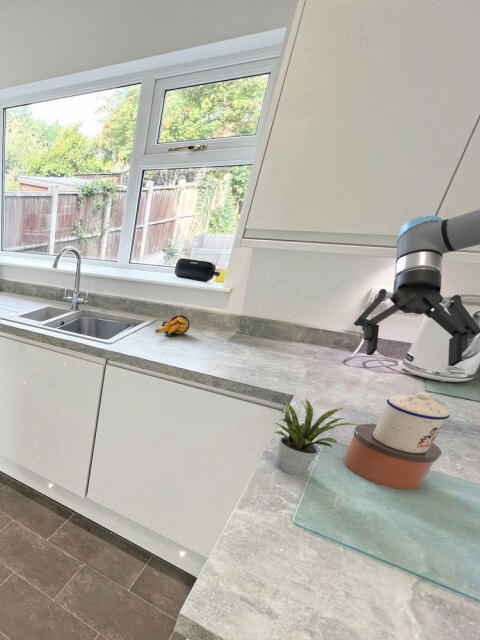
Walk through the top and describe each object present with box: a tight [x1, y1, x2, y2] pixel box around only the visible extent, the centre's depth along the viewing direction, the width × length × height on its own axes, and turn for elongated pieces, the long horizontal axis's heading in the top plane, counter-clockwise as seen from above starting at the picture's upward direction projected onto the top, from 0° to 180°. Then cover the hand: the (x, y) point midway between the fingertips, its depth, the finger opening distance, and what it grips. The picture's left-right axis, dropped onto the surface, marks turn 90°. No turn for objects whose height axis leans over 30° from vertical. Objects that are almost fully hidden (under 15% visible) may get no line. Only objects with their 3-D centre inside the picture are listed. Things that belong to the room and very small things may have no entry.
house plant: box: [273, 398, 363, 476], centre depth 90 cm, size 14×14×16 cm
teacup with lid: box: [373, 391, 450, 453], centre depth 86 cm, size 12×9×12 cm
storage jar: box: [342, 423, 442, 490], centre depth 91 cm, size 14×14×8 cm
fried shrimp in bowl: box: [154, 314, 191, 337], centre depth 178 cm, size 9×11×18 cm
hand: (411, 357), depth 91 cm, fingers open, 13 cm apart
